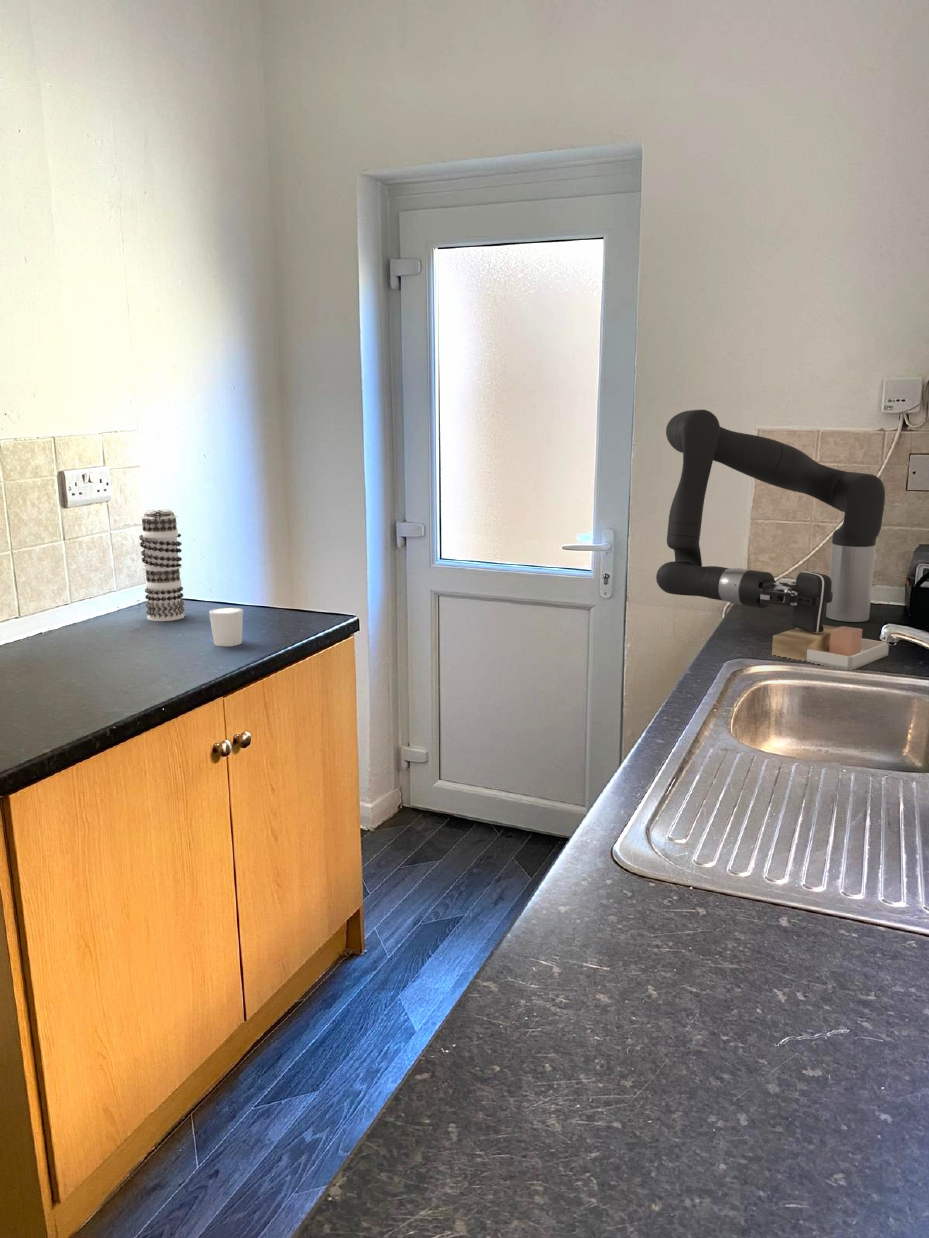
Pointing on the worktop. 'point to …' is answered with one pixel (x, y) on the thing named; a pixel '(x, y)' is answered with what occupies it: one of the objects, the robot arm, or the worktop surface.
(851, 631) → the peach rounded cube
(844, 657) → the tray
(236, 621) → the shot glass
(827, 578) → the black rounded block
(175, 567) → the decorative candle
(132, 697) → the worktop surface
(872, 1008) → the worktop surface
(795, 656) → the wooden block
